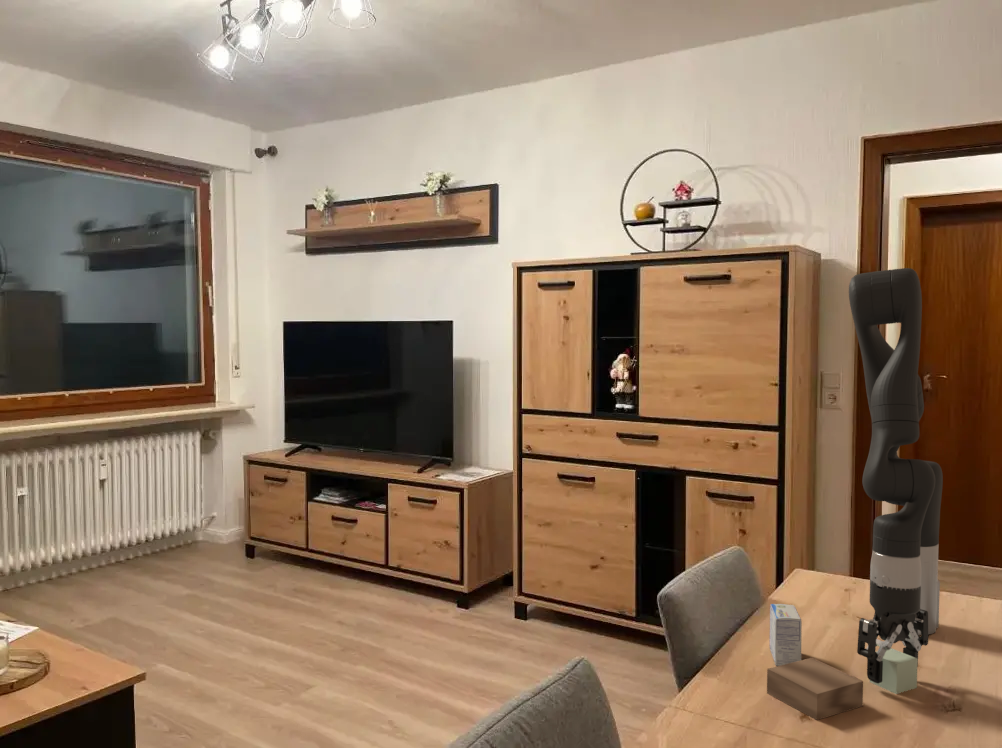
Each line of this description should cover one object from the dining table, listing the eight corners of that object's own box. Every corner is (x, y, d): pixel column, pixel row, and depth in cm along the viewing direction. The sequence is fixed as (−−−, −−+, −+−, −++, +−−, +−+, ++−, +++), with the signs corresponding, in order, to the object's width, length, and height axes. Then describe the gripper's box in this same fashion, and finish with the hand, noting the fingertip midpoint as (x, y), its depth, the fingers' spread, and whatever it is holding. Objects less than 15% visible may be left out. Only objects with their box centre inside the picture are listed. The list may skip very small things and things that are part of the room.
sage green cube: (889, 676, 135) (890, 647, 135) (916, 688, 131) (917, 658, 131) (869, 682, 133) (870, 653, 133) (896, 694, 129) (897, 664, 128)
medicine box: (801, 668, 138) (802, 619, 138) (774, 666, 139) (775, 617, 139) (794, 651, 146) (795, 604, 146) (768, 649, 147) (769, 602, 146)
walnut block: (811, 681, 133) (811, 657, 133) (862, 706, 124) (863, 681, 124) (766, 693, 129) (767, 668, 129) (816, 720, 120) (817, 693, 120)
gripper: (903, 568, 138) (901, 660, 138) (845, 579, 131) (843, 675, 132) (944, 580, 131) (941, 677, 132) (885, 592, 124) (883, 694, 125)
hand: (892, 676), depth 132 cm, fingers open, 8 cm apart
